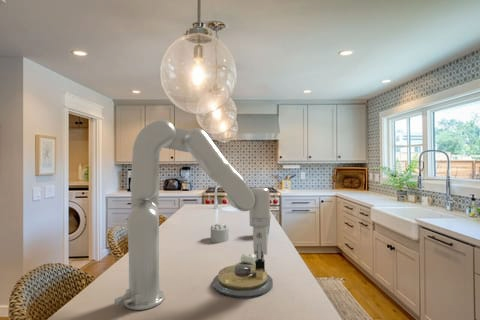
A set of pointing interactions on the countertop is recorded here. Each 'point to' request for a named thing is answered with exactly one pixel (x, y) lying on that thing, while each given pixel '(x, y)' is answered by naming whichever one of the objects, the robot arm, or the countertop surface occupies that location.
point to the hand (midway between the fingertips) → (260, 271)
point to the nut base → (243, 294)
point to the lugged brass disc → (242, 277)
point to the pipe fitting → (248, 259)
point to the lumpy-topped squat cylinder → (219, 233)
